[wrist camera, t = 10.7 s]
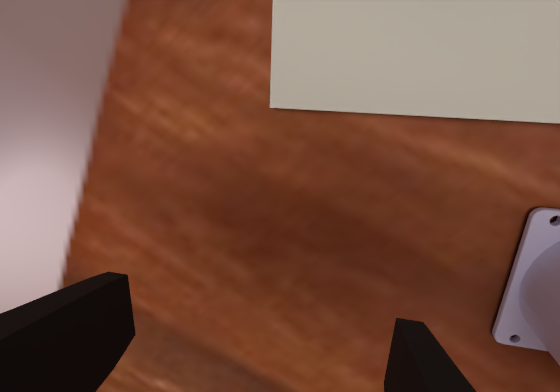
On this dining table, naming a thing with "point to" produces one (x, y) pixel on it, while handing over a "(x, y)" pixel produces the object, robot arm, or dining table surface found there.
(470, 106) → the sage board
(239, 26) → the dining table surface
